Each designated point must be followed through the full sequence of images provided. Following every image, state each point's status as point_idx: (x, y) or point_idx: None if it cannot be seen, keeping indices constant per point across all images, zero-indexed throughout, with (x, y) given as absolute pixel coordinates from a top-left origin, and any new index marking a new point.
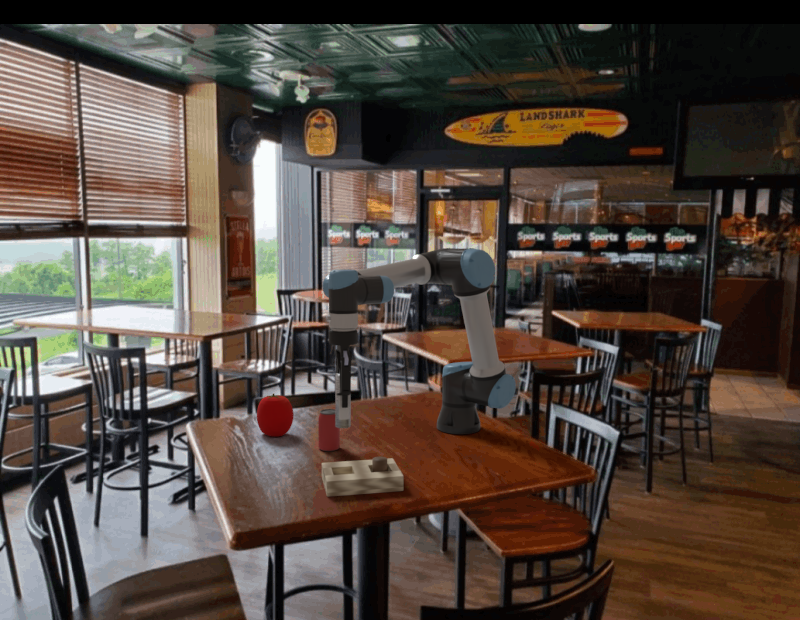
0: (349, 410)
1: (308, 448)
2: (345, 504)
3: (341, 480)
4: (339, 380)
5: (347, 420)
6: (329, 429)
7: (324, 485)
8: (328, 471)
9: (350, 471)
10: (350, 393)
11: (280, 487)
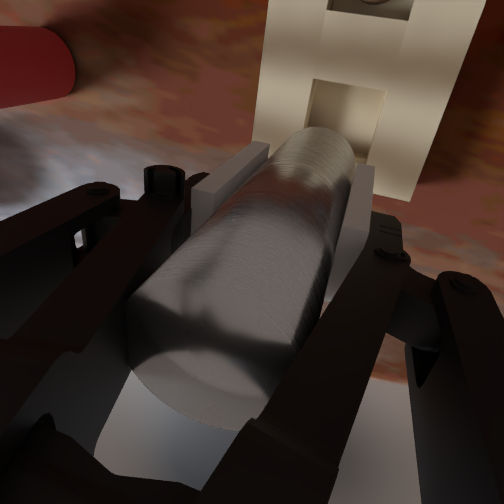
0: (373, 185)
1: (51, 123)
2: (494, 155)
3: (425, 156)
4: None
5: (350, 166)
6: (22, 77)
7: None
8: None
9: (315, 81)
10: (485, 287)
11: None
